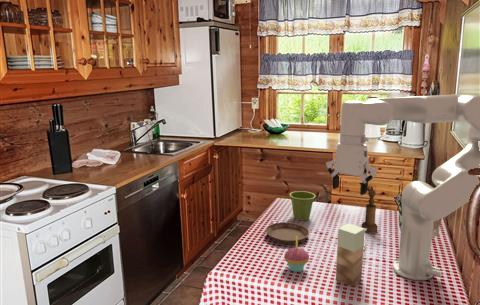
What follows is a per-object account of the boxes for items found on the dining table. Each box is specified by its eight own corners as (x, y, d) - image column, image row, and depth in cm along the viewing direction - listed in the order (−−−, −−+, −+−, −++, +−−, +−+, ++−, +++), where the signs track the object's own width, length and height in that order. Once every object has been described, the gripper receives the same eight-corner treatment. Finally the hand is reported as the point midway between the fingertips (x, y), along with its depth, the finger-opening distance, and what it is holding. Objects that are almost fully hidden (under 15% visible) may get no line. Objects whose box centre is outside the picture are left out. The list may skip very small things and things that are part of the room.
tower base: (361, 279, 128) (362, 262, 127) (352, 286, 124) (353, 269, 123) (345, 272, 133) (346, 256, 131) (335, 279, 128) (336, 262, 127)
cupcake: (283, 262, 140) (283, 231, 137) (307, 262, 139) (308, 231, 137) (285, 274, 131) (285, 242, 129) (310, 275, 131) (311, 242, 128)
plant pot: (310, 224, 173) (311, 200, 171) (285, 220, 178) (286, 196, 176) (317, 215, 184) (318, 192, 181) (293, 211, 189) (293, 189, 186)
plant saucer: (312, 232, 166) (313, 225, 165) (303, 250, 150) (303, 242, 149) (273, 226, 172) (273, 219, 172) (260, 242, 156) (260, 235, 156)
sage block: (363, 245, 126) (364, 228, 125) (354, 251, 122) (355, 234, 120) (347, 240, 130) (348, 223, 129) (337, 245, 126) (338, 228, 125)
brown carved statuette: (380, 230, 166) (383, 190, 162) (370, 234, 163) (373, 193, 159) (367, 225, 172) (370, 186, 168) (358, 229, 168) (360, 189, 164)
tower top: (362, 262, 127) (363, 245, 126) (353, 269, 123) (354, 251, 122) (346, 256, 131) (347, 240, 130) (336, 262, 127) (337, 245, 126)
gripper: (383, 141, 121) (379, 193, 125) (333, 135, 132) (331, 183, 136) (373, 145, 116) (369, 199, 119) (322, 138, 127) (320, 188, 131)
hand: (349, 190), depth 128 cm, fingers open, 9 cm apart
